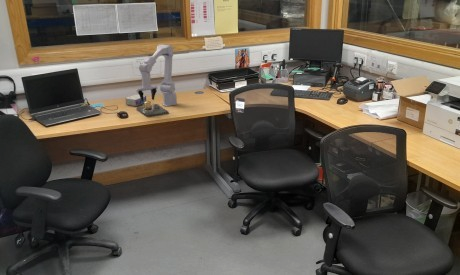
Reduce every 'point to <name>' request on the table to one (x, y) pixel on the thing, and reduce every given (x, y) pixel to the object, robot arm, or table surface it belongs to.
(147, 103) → the brass cylinder
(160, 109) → the fitting board
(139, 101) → the ink cartridge box
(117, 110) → the table surface
